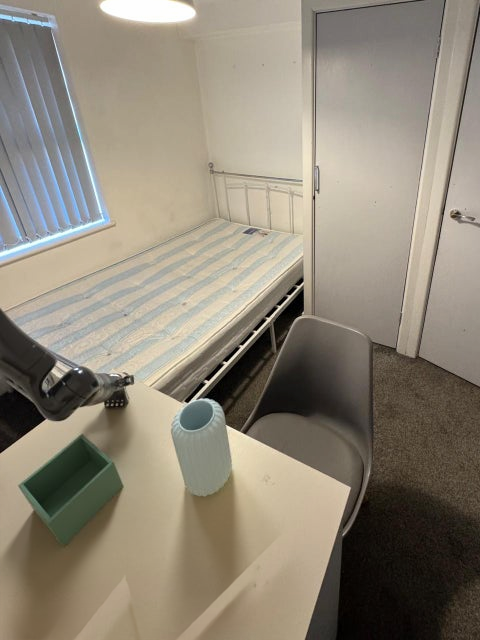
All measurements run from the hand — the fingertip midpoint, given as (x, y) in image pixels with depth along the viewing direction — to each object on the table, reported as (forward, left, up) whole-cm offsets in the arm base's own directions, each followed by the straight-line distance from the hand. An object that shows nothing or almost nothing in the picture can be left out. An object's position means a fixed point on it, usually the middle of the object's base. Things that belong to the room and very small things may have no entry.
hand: (111, 386), depth 96 cm
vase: (+40, -1, -7) cm, 40 cm away
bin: (+17, -20, -7) cm, 27 cm away
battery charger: (+1, -1, -7) cm, 7 cm away
